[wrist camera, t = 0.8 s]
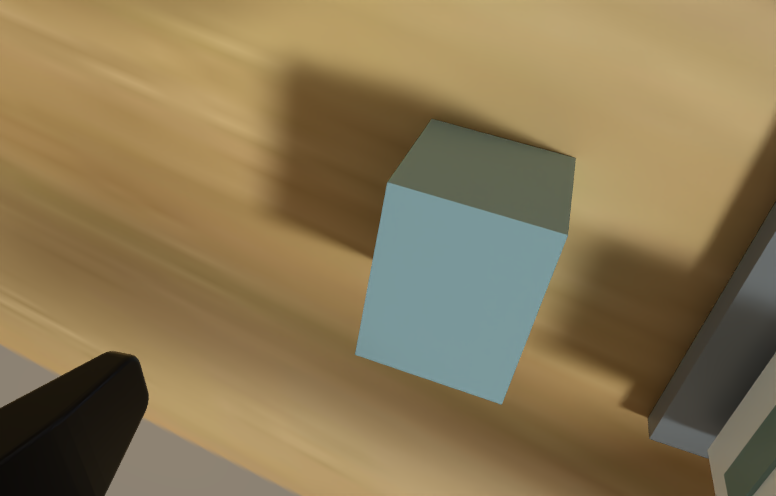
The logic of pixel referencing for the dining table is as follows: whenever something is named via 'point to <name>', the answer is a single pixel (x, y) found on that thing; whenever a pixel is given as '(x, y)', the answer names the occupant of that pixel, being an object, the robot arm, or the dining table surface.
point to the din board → (731, 380)
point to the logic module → (464, 257)
